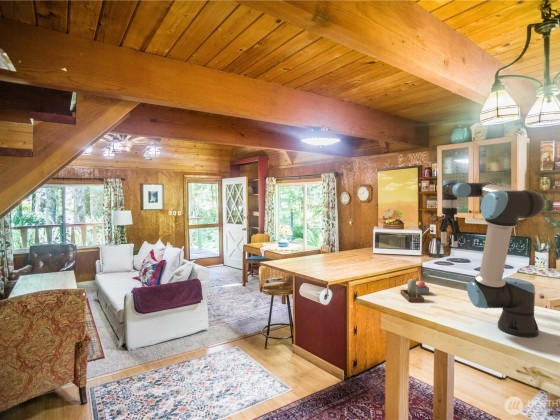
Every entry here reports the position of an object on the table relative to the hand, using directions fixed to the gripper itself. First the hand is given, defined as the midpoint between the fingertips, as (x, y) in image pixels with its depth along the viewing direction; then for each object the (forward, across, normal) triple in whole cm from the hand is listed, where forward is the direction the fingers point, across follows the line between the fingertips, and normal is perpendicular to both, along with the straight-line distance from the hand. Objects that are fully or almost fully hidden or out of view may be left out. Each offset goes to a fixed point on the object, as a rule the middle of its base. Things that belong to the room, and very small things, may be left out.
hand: (449, 245), depth 187 cm
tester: (+33, +17, +9) cm, 38 cm away
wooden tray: (+33, +7, +18) cm, 38 cm away
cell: (+32, +7, +18) cm, 38 cm away
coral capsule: (+32, +17, +9) cm, 37 cm away
